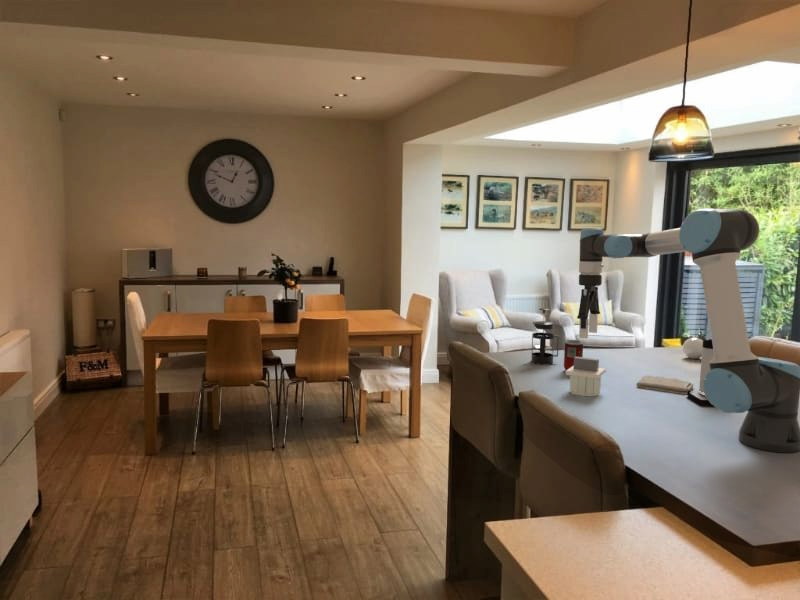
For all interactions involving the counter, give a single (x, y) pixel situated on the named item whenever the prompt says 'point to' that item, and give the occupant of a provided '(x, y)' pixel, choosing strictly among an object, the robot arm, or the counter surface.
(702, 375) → the travel mug
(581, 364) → the cover
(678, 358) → the counter surface
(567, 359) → the soda can
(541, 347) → the french press
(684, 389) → the washcloth
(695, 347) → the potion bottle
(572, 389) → the cream round tub
